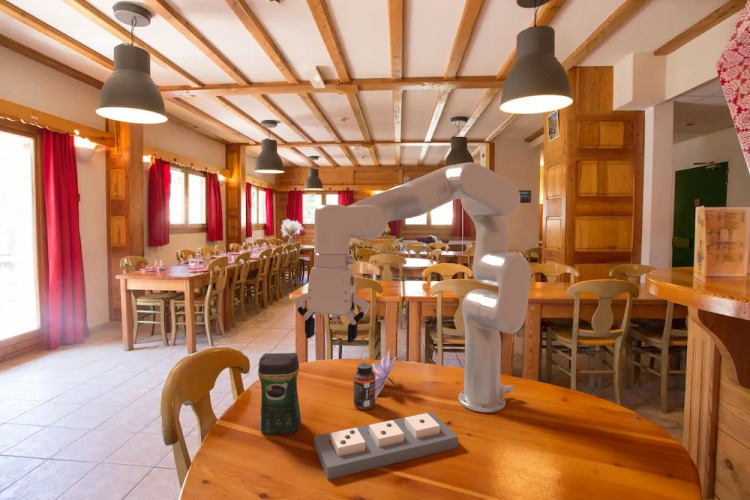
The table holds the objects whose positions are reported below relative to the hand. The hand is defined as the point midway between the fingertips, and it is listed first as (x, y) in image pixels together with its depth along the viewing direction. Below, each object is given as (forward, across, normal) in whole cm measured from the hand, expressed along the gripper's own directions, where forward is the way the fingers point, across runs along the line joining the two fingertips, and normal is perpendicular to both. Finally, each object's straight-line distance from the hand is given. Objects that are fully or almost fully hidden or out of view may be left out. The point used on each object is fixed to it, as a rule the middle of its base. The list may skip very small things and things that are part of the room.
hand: (330, 338), depth 87 cm
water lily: (+24, -4, -32) cm, 41 cm away
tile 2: (+23, -12, -3) cm, 26 cm away
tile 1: (+22, -20, -8) cm, 31 cm away
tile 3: (+23, -5, +2) cm, 24 cm away
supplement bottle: (+25, -2, -20) cm, 32 cm away
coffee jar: (+25, +14, -4) cm, 29 cm away
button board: (+24, -12, -3) cm, 28 cm away
